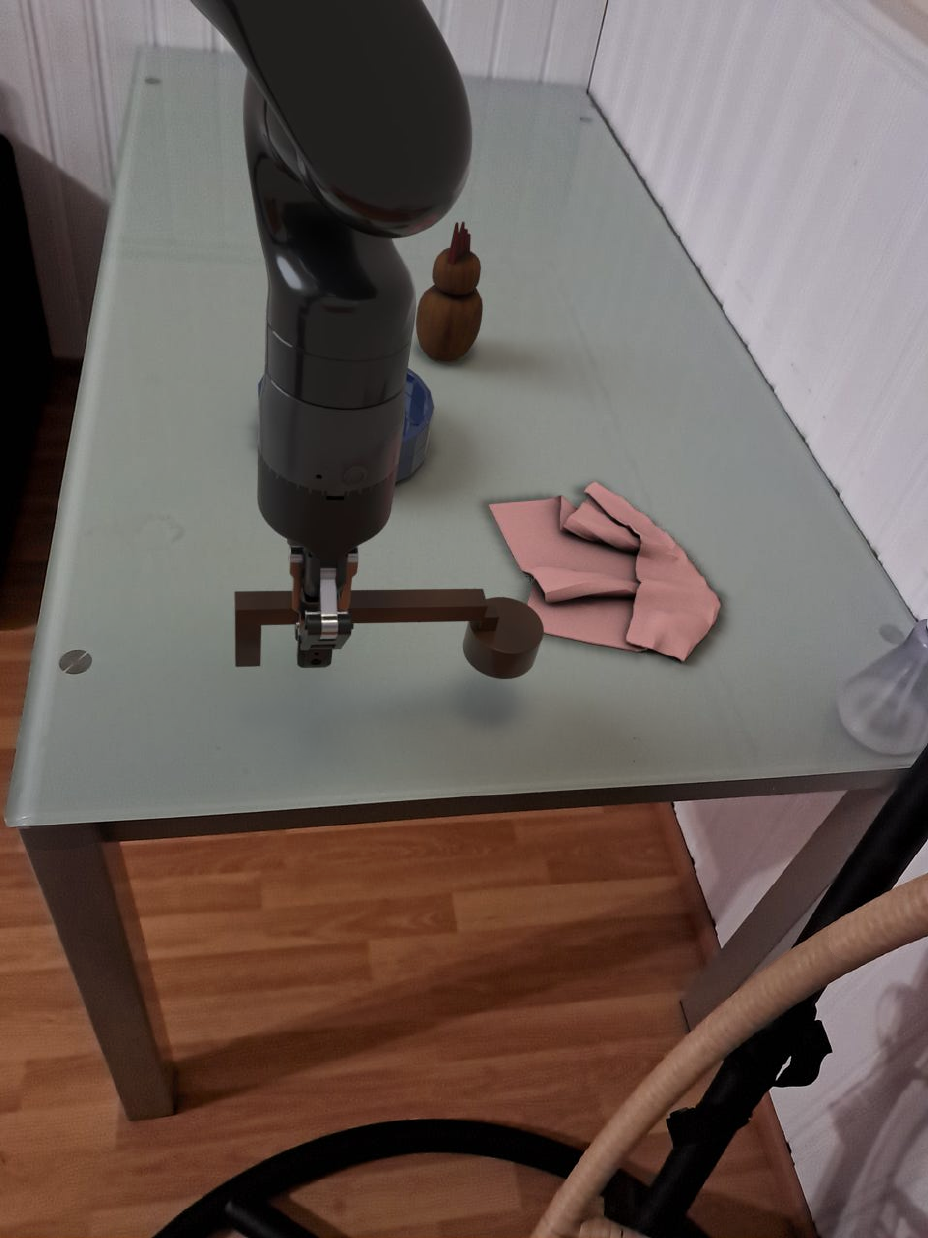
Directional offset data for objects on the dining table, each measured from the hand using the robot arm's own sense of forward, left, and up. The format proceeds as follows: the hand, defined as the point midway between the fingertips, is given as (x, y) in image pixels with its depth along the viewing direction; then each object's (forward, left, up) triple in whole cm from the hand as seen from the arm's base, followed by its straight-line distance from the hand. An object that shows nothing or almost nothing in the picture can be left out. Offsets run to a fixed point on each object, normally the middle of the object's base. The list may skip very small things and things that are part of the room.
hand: (312, 650), depth 63 cm
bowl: (+14, +28, -7) cm, 32 cm away
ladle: (+5, -2, -1) cm, 5 cm away
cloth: (+29, +6, -7) cm, 30 cm away
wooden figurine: (+30, +39, -7) cm, 50 cm away
